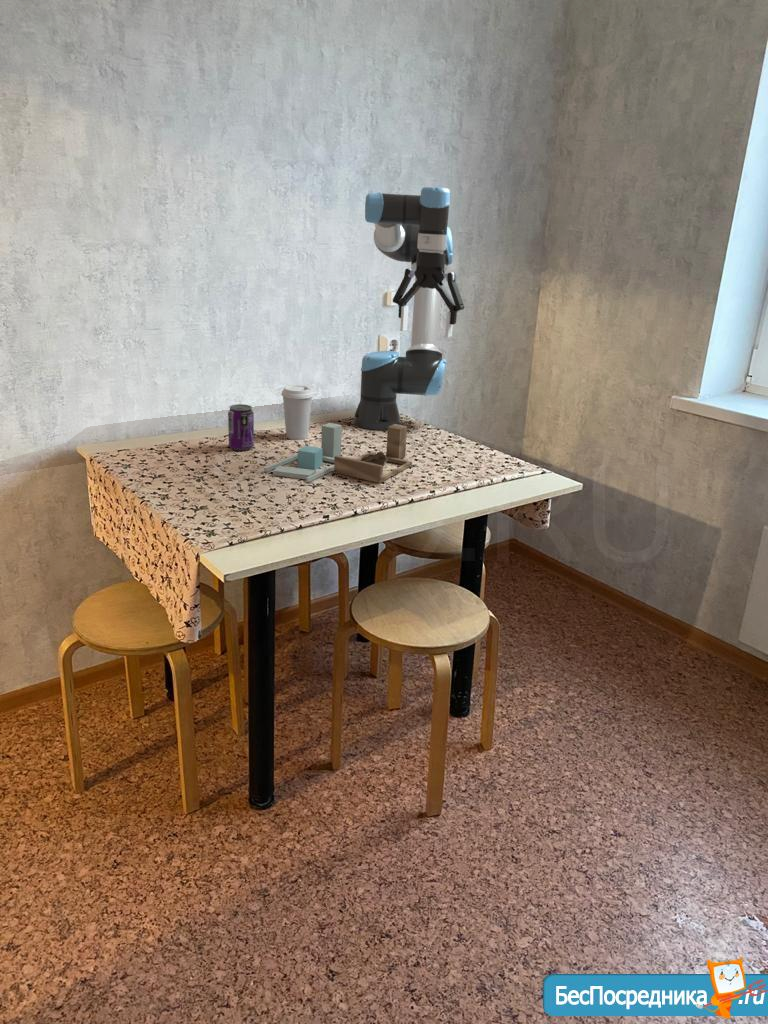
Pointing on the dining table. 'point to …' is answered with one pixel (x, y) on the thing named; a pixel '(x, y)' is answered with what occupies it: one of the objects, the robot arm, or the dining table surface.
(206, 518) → the dining table surface
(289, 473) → the grey rectangular block
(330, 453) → the grey open frame
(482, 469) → the dining table surface
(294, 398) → the coffee cup
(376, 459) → the rock sample
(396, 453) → the brown open frame
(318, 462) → the teal block
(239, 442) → the beverage can
